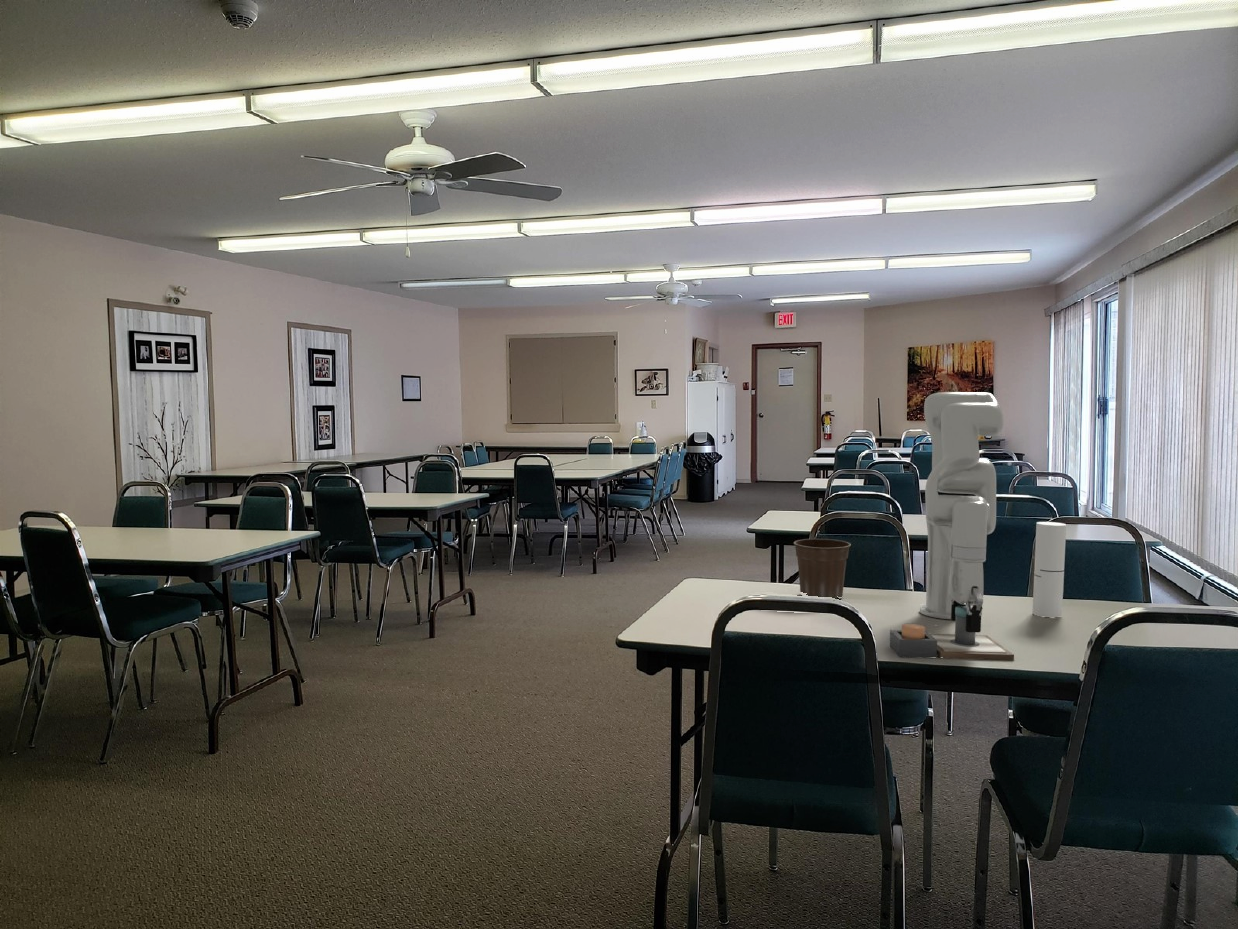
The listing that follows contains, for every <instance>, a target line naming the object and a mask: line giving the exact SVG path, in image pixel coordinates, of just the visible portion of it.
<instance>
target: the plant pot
mask: <svg viewBox="0 0 1238 929" xmlns="http://www.w3.org/2000/svg"><path fill="white" fill-rule="evenodd" d="M793 545H794V546H795V556H796V557H797V566H798V580H799V592H803V593H807V594H806V595H808V596H818V597H832V598H835V599H836V600H838V599H837V598H838V597H842V596H843V597H844V586H845V585H844V584H845V575H846V566H847V559H848V558H849V550H850V548H851V545H852V544H851V543H850V542H848V541H844V540H840V539H831V538H830V539H829V538H803V539H798V540H795V541H794V542H793ZM837 596H838V597H837ZM843 597H842V598H843Z"/></svg>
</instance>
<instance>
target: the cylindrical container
mask: <svg viewBox="0 0 1238 929" xmlns="http://www.w3.org/2000/svg"><path fill="white" fill-rule="evenodd" d="M1035 523H1036V527H1035V547H1034V548H1035V549H1034V572H1033V573H1034V574H1033V590H1032V591H1033V594H1032V615H1033V614H1034V616H1036V615H1037V616H1036V617H1039V616H1045V617H1058V616H1062V617H1063V600H1064V599H1063V597H1064V583H1065V582H1064V579H1065V561H1066V560H1065V559H1066V558H1065V557H1066V541H1067V539H1066V538H1067V537H1066V536H1067V524H1066V523H1063V522H1054V521H1037V522H1035Z"/></svg>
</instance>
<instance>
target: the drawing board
mask: <svg viewBox="0 0 1238 929" xmlns="http://www.w3.org/2000/svg"><path fill="white" fill-rule="evenodd" d="M929 634H930V635H931V636H933V637H934V638H935V639H936V640H937V656H938V657H939V658H940V657H943V658H942V659H954V658H955V659H956V660H957V658H958V660H960V659H961V660H996V661H997V660H1001V661H1003V660H1004V661H1014V660H1015V654H1013V653H1012V652H1011V651H1009V650H1008V649H1007V648H1005V647H1004V646H1002V645H1001V644H1000V643H998V642H997V640H994V639H993V638H992V637H990V636H989V635H988V634H975V644H974V645H962V644H958V643H955V633H954V634H953V633H952V634H951V633H950V634H949V633H929Z"/></svg>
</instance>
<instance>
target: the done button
mask: <svg viewBox="0 0 1238 929" xmlns="http://www.w3.org/2000/svg"><path fill="white" fill-rule="evenodd" d="M901 630H902V637H903V638H911V639H925V631H926V627H925V626H924V625H921V624H917V623H904V624H901Z"/></svg>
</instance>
